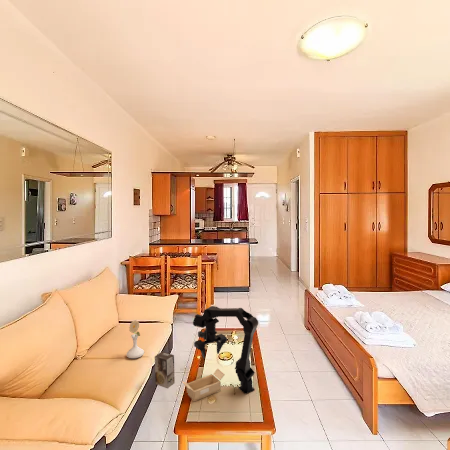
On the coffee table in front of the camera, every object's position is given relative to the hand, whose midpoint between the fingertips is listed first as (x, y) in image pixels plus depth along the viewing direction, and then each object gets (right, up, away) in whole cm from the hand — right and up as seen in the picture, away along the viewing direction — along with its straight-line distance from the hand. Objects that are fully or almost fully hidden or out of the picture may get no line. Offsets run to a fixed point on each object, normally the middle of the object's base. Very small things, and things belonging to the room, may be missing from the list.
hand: (210, 355), depth 171 cm
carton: (-3, -14, -12) cm, 19 cm away
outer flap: (-11, -7, -18) cm, 22 cm away
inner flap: (+5, -7, -7) cm, 11 cm away
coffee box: (-25, -14, -4) cm, 29 cm away
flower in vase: (-51, -12, +27) cm, 59 cm away
